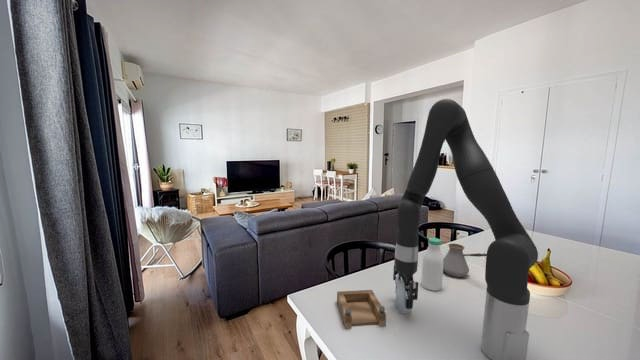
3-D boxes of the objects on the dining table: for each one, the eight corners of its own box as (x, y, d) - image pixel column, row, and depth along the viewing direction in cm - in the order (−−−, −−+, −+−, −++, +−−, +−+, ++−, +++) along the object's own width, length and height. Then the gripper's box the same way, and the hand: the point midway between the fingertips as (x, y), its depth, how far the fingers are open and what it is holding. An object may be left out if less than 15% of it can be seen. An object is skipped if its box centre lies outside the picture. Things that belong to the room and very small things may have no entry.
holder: (385, 325, 81) (386, 309, 80) (345, 328, 80) (345, 311, 79) (371, 299, 95) (372, 285, 94) (336, 301, 93) (337, 287, 93)
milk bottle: (443, 292, 101) (447, 243, 98) (423, 290, 102) (426, 241, 100) (438, 282, 108) (442, 236, 106) (419, 280, 110) (422, 235, 107)
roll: (413, 312, 88) (415, 284, 87) (399, 313, 87) (400, 285, 86) (406, 303, 93) (408, 276, 92) (393, 304, 92) (394, 277, 91)
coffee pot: (434, 269, 120) (436, 238, 118) (452, 265, 124) (454, 235, 122) (477, 293, 100) (481, 257, 98) (497, 288, 105) (501, 252, 103)
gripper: (427, 265, 81) (424, 313, 83) (407, 248, 95) (404, 289, 97) (405, 266, 80) (402, 314, 82) (387, 248, 94) (385, 290, 96)
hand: (403, 301), depth 90 cm, fingers open, 7 cm apart
